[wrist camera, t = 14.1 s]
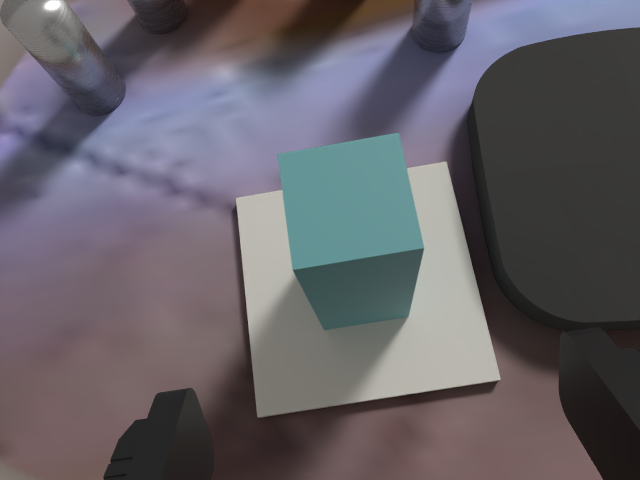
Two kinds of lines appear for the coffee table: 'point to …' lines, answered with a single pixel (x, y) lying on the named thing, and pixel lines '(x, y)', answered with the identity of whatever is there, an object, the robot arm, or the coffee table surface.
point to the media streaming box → (563, 178)
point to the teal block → (352, 229)
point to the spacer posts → (160, 17)
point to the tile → (372, 338)
